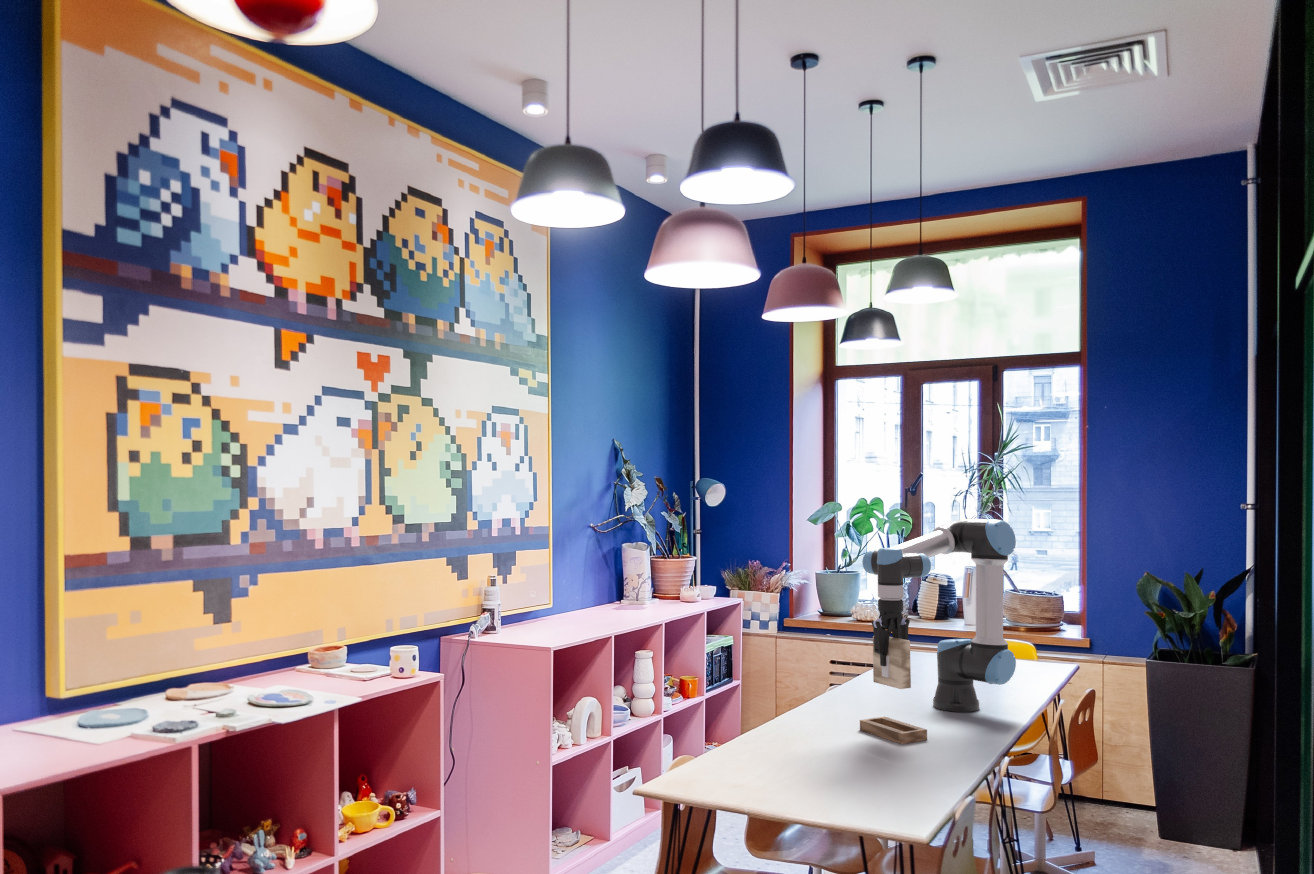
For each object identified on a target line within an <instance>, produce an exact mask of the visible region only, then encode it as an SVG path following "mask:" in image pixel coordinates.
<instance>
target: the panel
mask: <svg viewBox="0 0 1314 874" xmlns="http://www.w3.org/2000/svg"><path fill="white" fill-rule="evenodd" d="M883 651H884V650H883ZM887 655H888V656H889V658H890V678H887V677H883V676H882V666H881V665H880V654H878V653H875V652H874V635H873V636H872V668H873V671H872V673H873V675H872V676H873V678H872V679H873V680H872V681H873V683H875V684H879V685H883V686H888V687H892V688H895V689H898V690H904V689H911V688H912V681H911V679H912V677H911V676H912V675H911V669H912V668H911V667H912V666H911V640H909V639H908V640H904V639H899V638H893V636H890V638H889V646H888V653H887Z"/></svg>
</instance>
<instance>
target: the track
mask: <svg viewBox="0 0 1314 874" xmlns="http://www.w3.org/2000/svg"><path fill="white" fill-rule="evenodd" d="M859 731H861V732H862V731H863V732H864V733H868V734H871V735H874V736H876V737H879V738H882V739H886V740H889V741H890V742H891V741H892V742H895V743H898V744H900V745H904V744H910V743H917V742H922V741H927V740H928V729H926V728H923V727H920V726H916V725H914V724H910V723H907V722H903V721H900V720H897V719H894V718H890V717H888V716H879V717H872V718H871V717H870V718H865V719H859Z"/></svg>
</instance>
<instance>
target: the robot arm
mask: <svg viewBox="0 0 1314 874" xmlns="http://www.w3.org/2000/svg"><path fill="white" fill-rule="evenodd" d="M1016 540H1017V539H1016V534H1015V531H1014V529H1013V528H1012V527H1011V525H1010V524H1009V523H1008V522H1007V521H1005V520H1001V519H994V518H990V519H989V518H988V519H987V518H982V519H981V518H977V519H976V518H963V519H958V520H955V521H952V522H948V523H946V524H943V525H940V526H938V527H935V528H934V529H933V530H932V532H929V533H927V534H924V535H922V536H919V537H916V538H913V539H910V540H908V541H905V542H902V543H900V544H897V545H894V546H892V547H881V548H879V549H878V550H869V551H867V552H866V553H865V554H864V555H863V556H862V561H861V562H862V567H863V569H864V571H865V572H866V573H868V574H871V575H875V576H877V597H878V598H879V599H877V610H878V612H879V615H878V618H877V619H875V620H872V621H871V625H872V627H873V628H872V629H873V630H872V631H873V636H874V652H875V653H878V654H880V665H881V666H882V676H883V677H887V678H890V658H889V656H888V655H887V653H888V646H889V638H890V637H891V634H892V637H893V638H899V639H904V640H909V626H910V623H911V620H910V619H909V618H905V617H904V616H903V613H902V612H904V600H903V598H904V583H903V582H904V579H908V578H909V579H911V578H912V579H913V578H917V579H918V578H919V579H920V578H923V577H926V576H928V574H929V573H931V568H932V567H931V566H932V563H931V560H930V558H932V557H935V556H938V555H940V554H942V555H948V554H951V553H952V554H953V553H968V554H969V553H970V554H971V557H970V559H971V560H972V561H973V562H974V563H975V636H974V637H973V638H953V639H951V638H950V639H944V640H940V641H939V642H938V643H937V647H936V648H937V650H936V658H937V662H936V663H937V686H936V689H935V693H934V697H933V699H932V705H933V707H934V708H936V709H938V710H943V711H949V712H956V713H966V712H967V713H969V712H977V711H979V710H980V701H979V699H978V697H977V693H976V689H975V685H974V681H975V682H982V683H987V684H989V685H999V686H1000V685H1001V686H1002V685H1005V684H1007V683H1008V682H1009V681H1010V680H1011V678H1013V675H1014V674H1015V671H1016V668H1017V667H1016V666H1017V659H1016V657H1015V655H1014V652H1012V651H1011V650H1010V649H1009V642H1007V640H1005V638H1004V565H1005V564H1006V563H1007V562H1008V561H1009V556H1010V555H1011V554H1013V552H1014V551H1015V548H1016V543H1017V541H1016ZM883 650H884V651H883Z"/></svg>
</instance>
